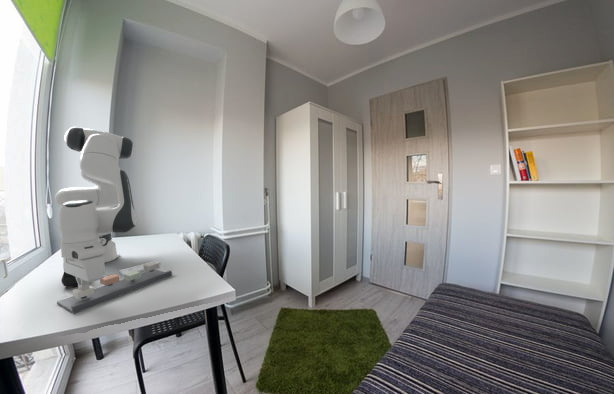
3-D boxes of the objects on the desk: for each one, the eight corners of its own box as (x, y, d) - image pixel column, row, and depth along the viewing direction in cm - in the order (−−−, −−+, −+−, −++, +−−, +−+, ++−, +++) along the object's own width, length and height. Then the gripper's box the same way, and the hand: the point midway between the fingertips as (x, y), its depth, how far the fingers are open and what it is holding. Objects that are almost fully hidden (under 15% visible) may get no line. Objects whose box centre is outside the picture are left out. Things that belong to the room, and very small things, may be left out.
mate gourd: (92, 279, 88) (90, 256, 88) (84, 286, 82) (82, 262, 81) (67, 283, 85) (66, 259, 84) (57, 291, 78) (55, 265, 77)
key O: (73, 299, 70) (72, 290, 70) (89, 293, 73) (88, 285, 73) (78, 302, 68) (77, 292, 68) (94, 296, 72) (94, 287, 72)
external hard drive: (157, 268, 101) (123, 277, 91) (151, 264, 106) (119, 272, 96) (157, 265, 100) (123, 274, 91) (151, 261, 106) (119, 269, 96)
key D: (123, 282, 83) (123, 274, 82) (135, 278, 86) (135, 270, 86) (129, 284, 81) (128, 276, 81) (141, 279, 84) (140, 272, 84)
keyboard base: (56, 303, 70) (56, 297, 69) (154, 270, 97) (154, 266, 97) (73, 313, 64) (72, 307, 64) (171, 275, 91) (171, 270, 91)
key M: (143, 272, 89) (143, 264, 89) (154, 268, 92) (153, 261, 92) (149, 273, 87) (148, 266, 87) (159, 270, 91) (159, 263, 91)
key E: (100, 286, 76) (99, 278, 76) (114, 282, 80) (113, 273, 80) (105, 288, 74) (105, 280, 74) (119, 284, 78) (119, 275, 78)
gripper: (55, 247, 71) (57, 286, 72) (81, 255, 63) (84, 299, 64) (80, 242, 77) (83, 279, 78) (108, 249, 69) (110, 290, 69)
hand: (83, 288), depth 71 cm, fingers closed, pressing on key O
